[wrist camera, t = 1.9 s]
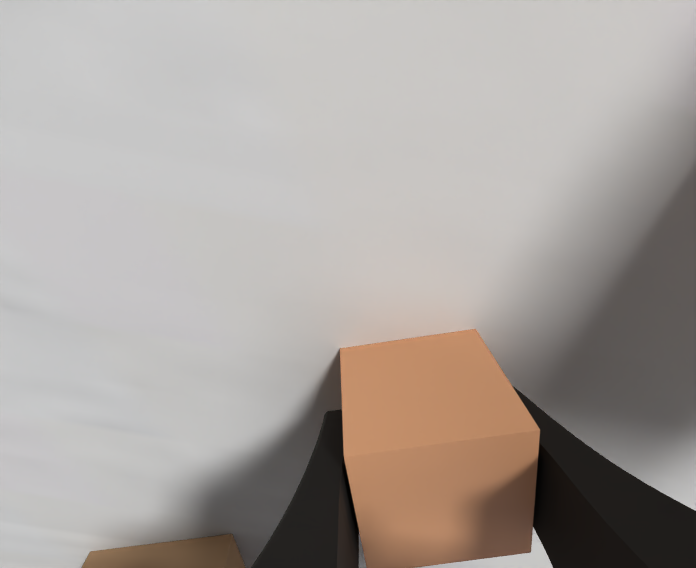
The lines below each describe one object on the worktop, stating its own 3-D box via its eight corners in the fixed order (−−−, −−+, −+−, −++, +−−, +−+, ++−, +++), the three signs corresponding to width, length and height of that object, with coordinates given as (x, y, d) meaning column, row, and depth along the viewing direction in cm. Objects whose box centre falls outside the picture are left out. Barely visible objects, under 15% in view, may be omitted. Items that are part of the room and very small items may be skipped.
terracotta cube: (476, 429, 15) (531, 552, 11) (357, 445, 15) (367, 573, 11) (474, 327, 13) (540, 429, 9) (339, 347, 13) (343, 457, 9)
